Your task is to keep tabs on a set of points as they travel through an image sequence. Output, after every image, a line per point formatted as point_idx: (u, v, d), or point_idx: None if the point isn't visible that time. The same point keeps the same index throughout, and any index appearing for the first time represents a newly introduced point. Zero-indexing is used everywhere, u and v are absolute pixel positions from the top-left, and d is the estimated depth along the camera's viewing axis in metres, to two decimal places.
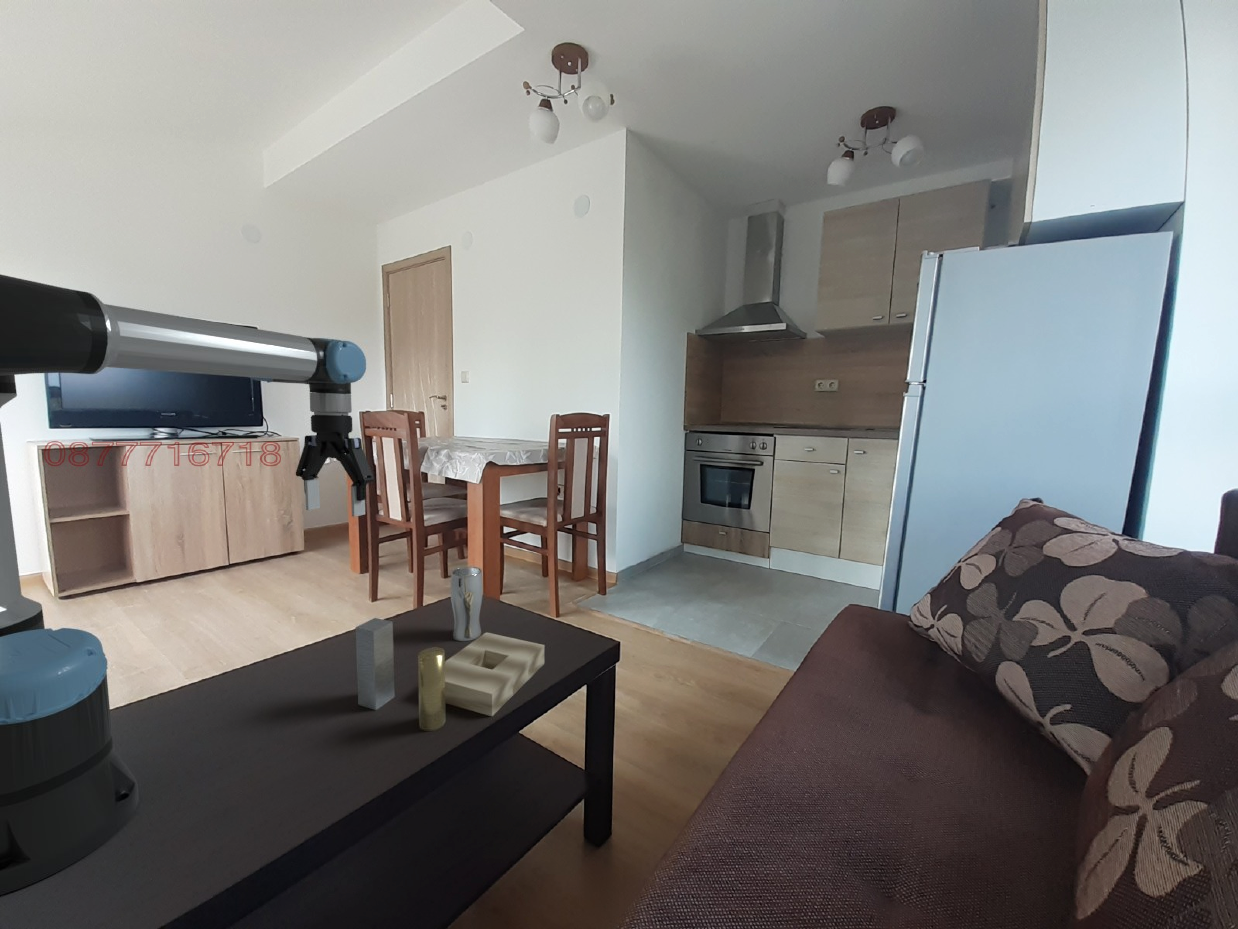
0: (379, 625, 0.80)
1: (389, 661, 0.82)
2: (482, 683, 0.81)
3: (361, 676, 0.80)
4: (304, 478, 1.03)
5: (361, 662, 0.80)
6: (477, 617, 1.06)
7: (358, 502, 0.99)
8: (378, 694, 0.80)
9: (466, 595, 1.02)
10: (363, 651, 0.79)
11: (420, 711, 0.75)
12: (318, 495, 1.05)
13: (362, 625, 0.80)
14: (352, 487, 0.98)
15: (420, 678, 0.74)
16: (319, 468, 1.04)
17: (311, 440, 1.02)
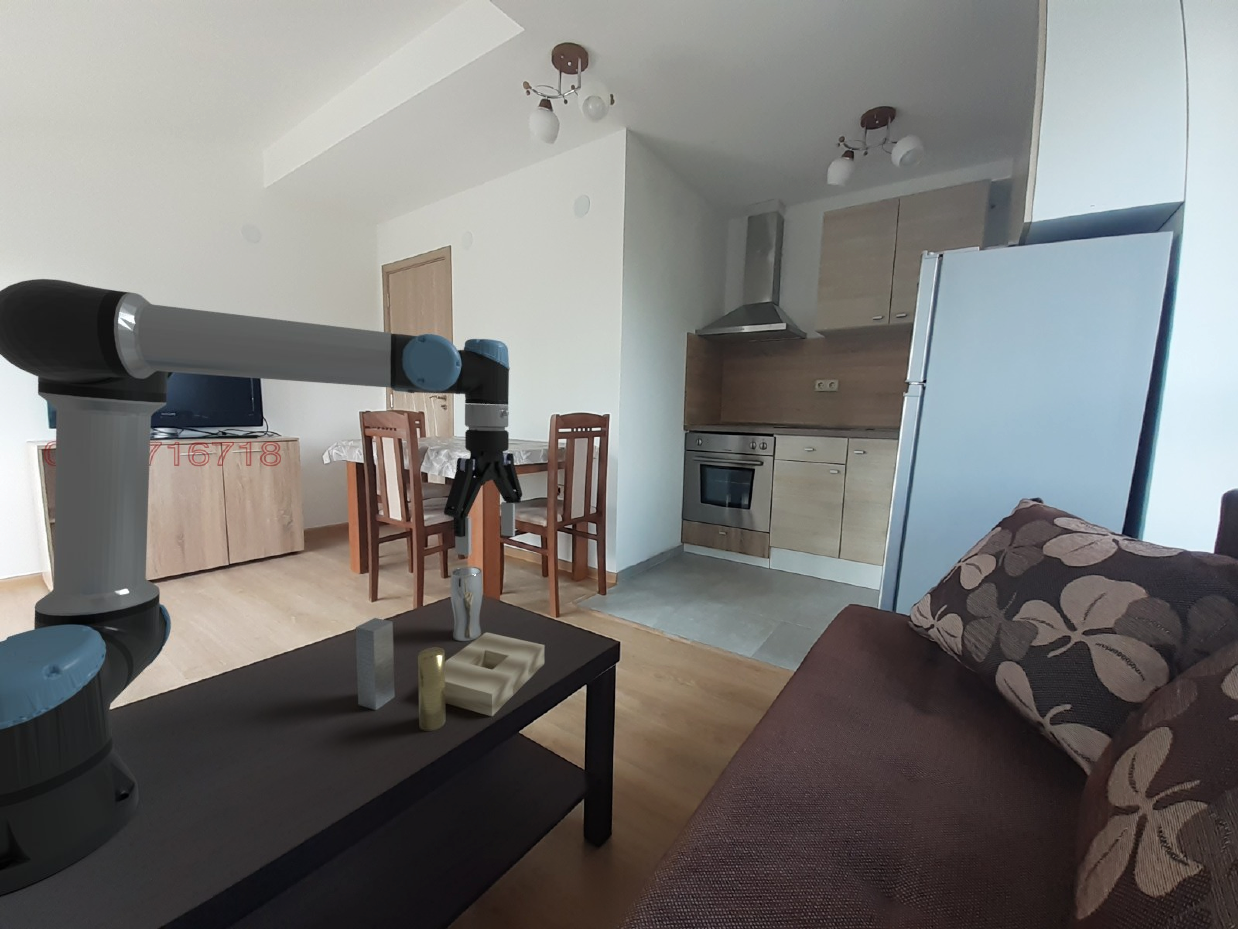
0: (379, 625, 0.80)
1: (389, 661, 0.82)
2: (482, 683, 0.81)
3: (361, 676, 0.80)
4: None
5: (361, 662, 0.80)
6: (477, 617, 1.06)
7: (460, 538, 0.80)
8: (378, 694, 0.80)
9: (466, 595, 1.02)
10: (363, 651, 0.79)
11: (420, 711, 0.75)
12: (511, 521, 0.92)
13: (363, 625, 0.80)
14: None
15: (420, 678, 0.74)
16: (507, 491, 0.90)
17: None
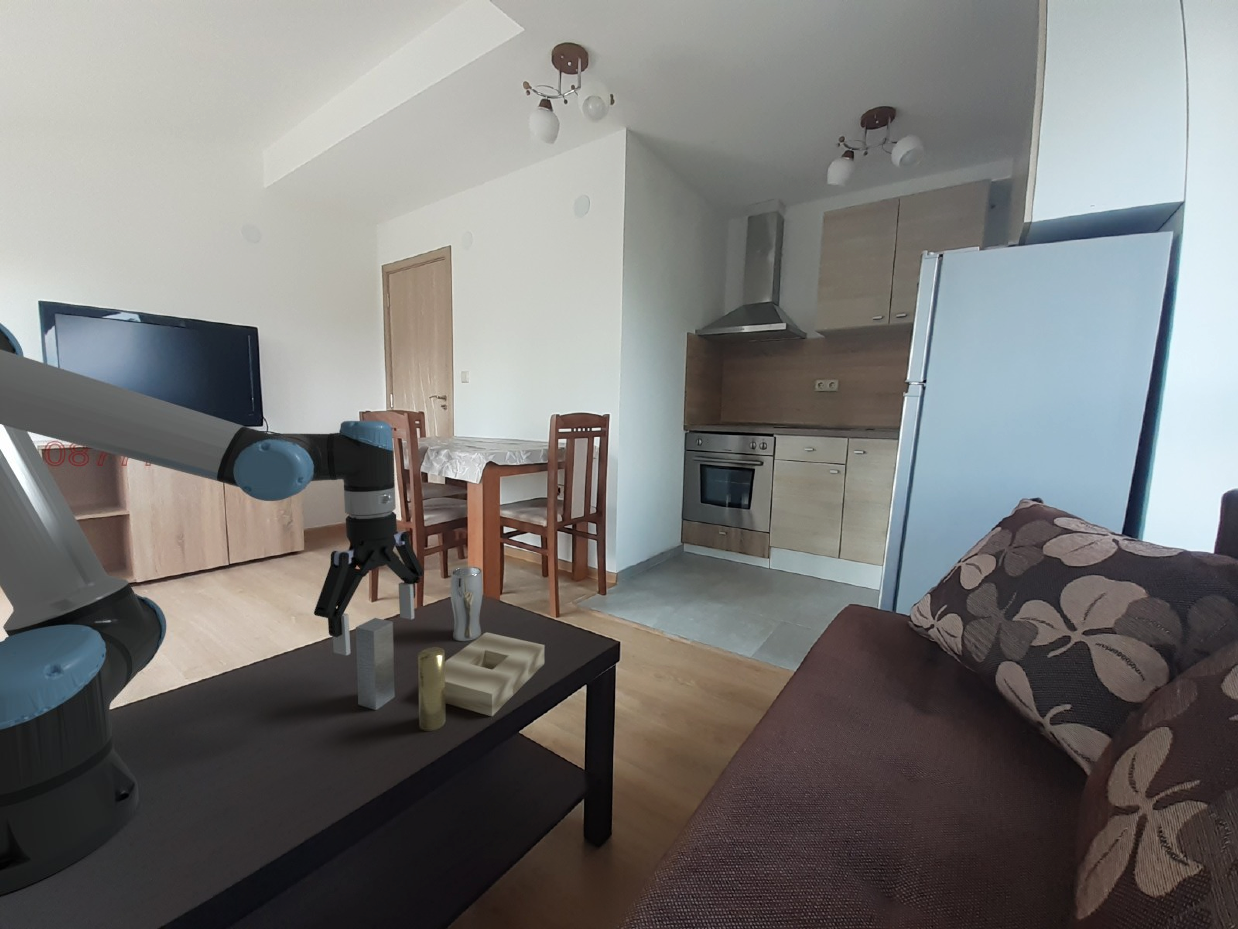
0: (379, 625, 0.80)
1: (389, 661, 0.82)
2: (482, 683, 0.81)
3: (361, 676, 0.80)
4: None
5: (361, 662, 0.80)
6: (477, 617, 1.06)
7: (337, 636, 0.74)
8: (378, 694, 0.80)
9: (466, 595, 1.02)
10: (363, 651, 0.79)
11: (420, 711, 0.75)
12: (409, 604, 0.86)
13: (363, 625, 0.80)
14: None
15: (420, 678, 0.74)
16: (402, 573, 0.85)
17: None
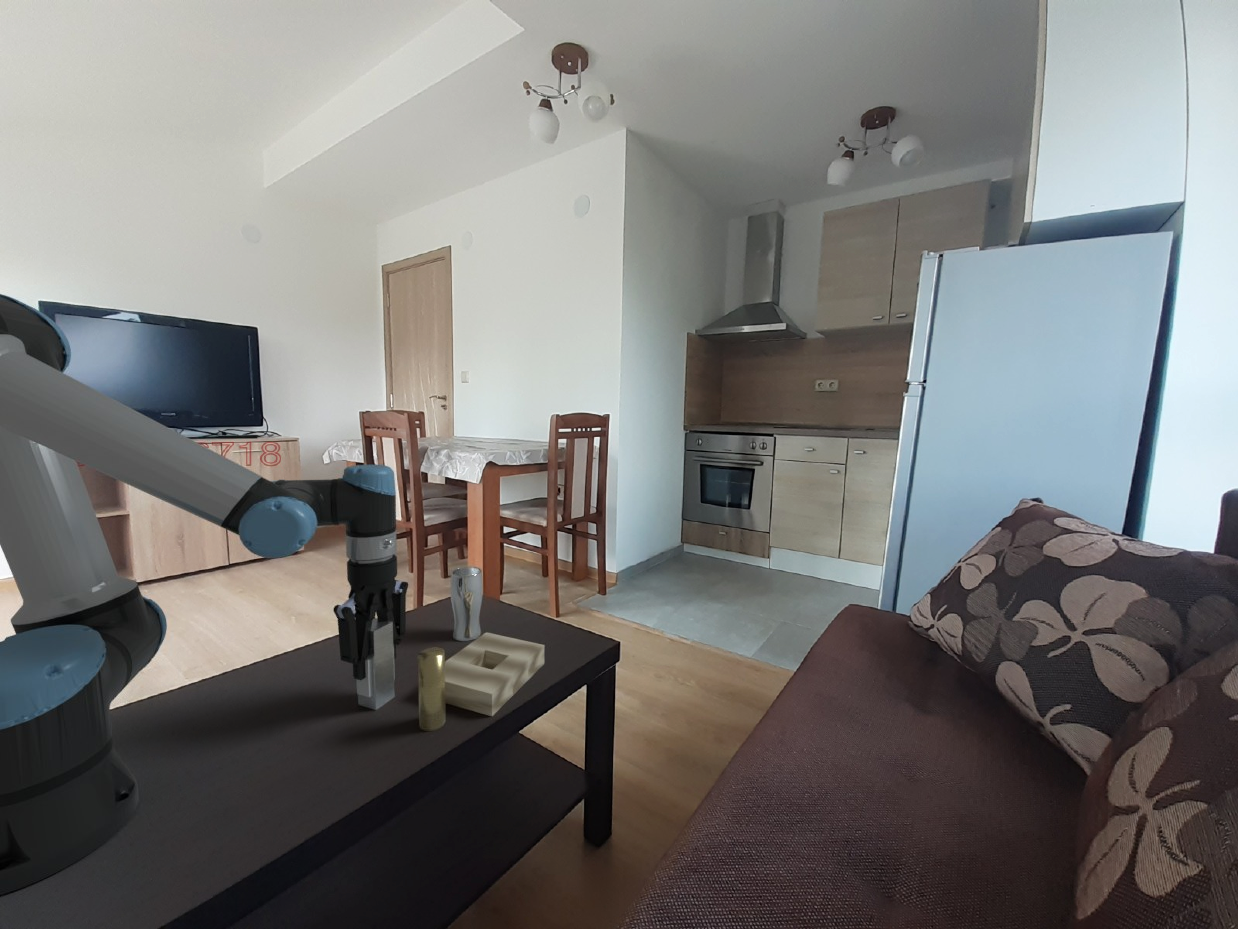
0: (379, 625, 0.80)
1: (389, 661, 0.82)
2: (482, 683, 0.81)
3: None
4: None
5: None
6: (477, 617, 1.06)
7: None
8: (378, 694, 0.80)
9: (466, 595, 1.02)
10: None
11: (420, 711, 0.75)
12: None
13: None
14: None
15: (420, 678, 0.74)
16: None
17: None
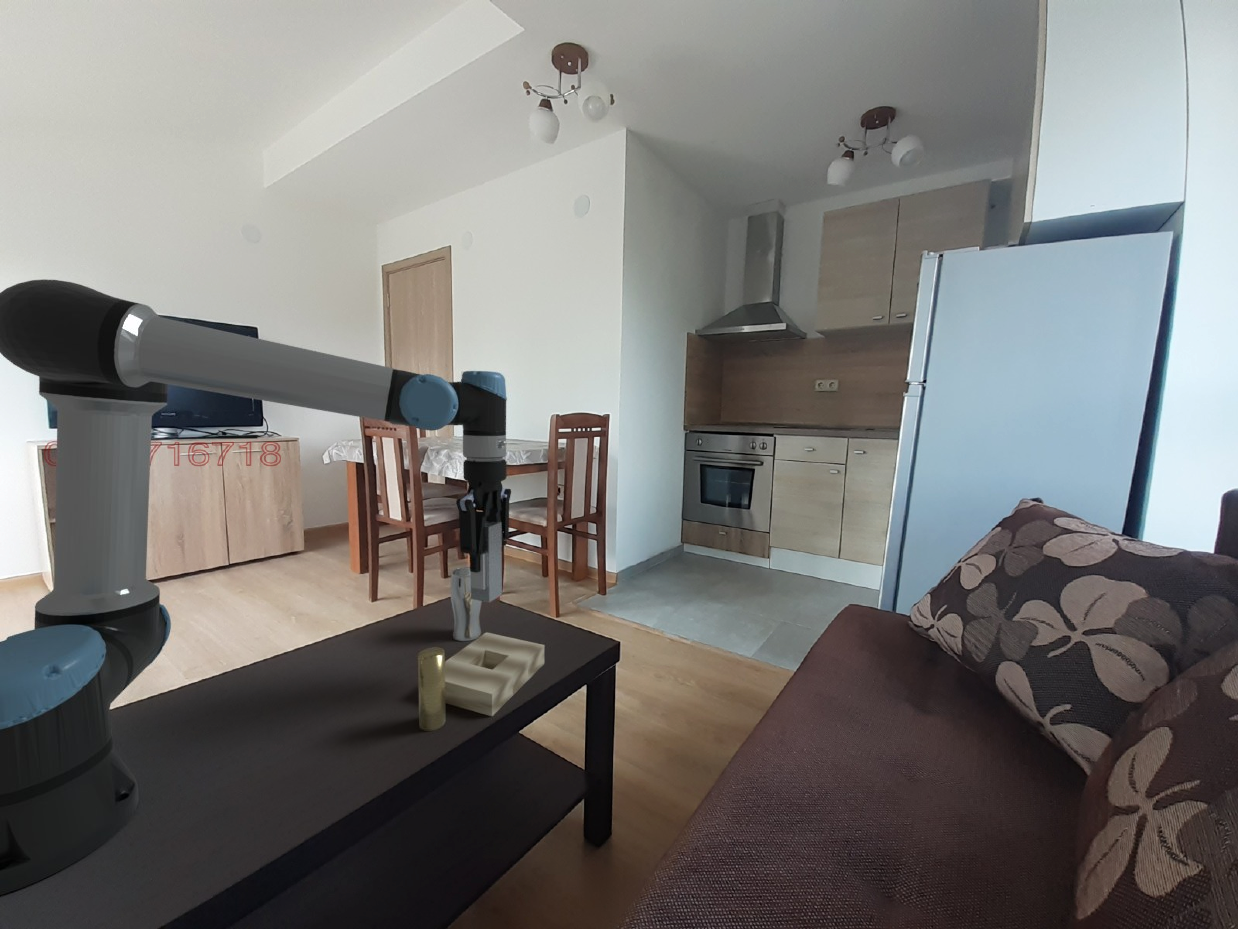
0: (491, 524, 0.86)
1: (498, 559, 0.87)
2: (482, 683, 0.81)
3: None
4: None
5: None
6: (477, 617, 1.06)
7: (475, 573, 0.85)
8: (491, 588, 0.86)
9: (466, 595, 1.02)
10: None
11: (420, 711, 0.75)
12: None
13: None
14: None
15: (420, 678, 0.74)
16: None
17: None
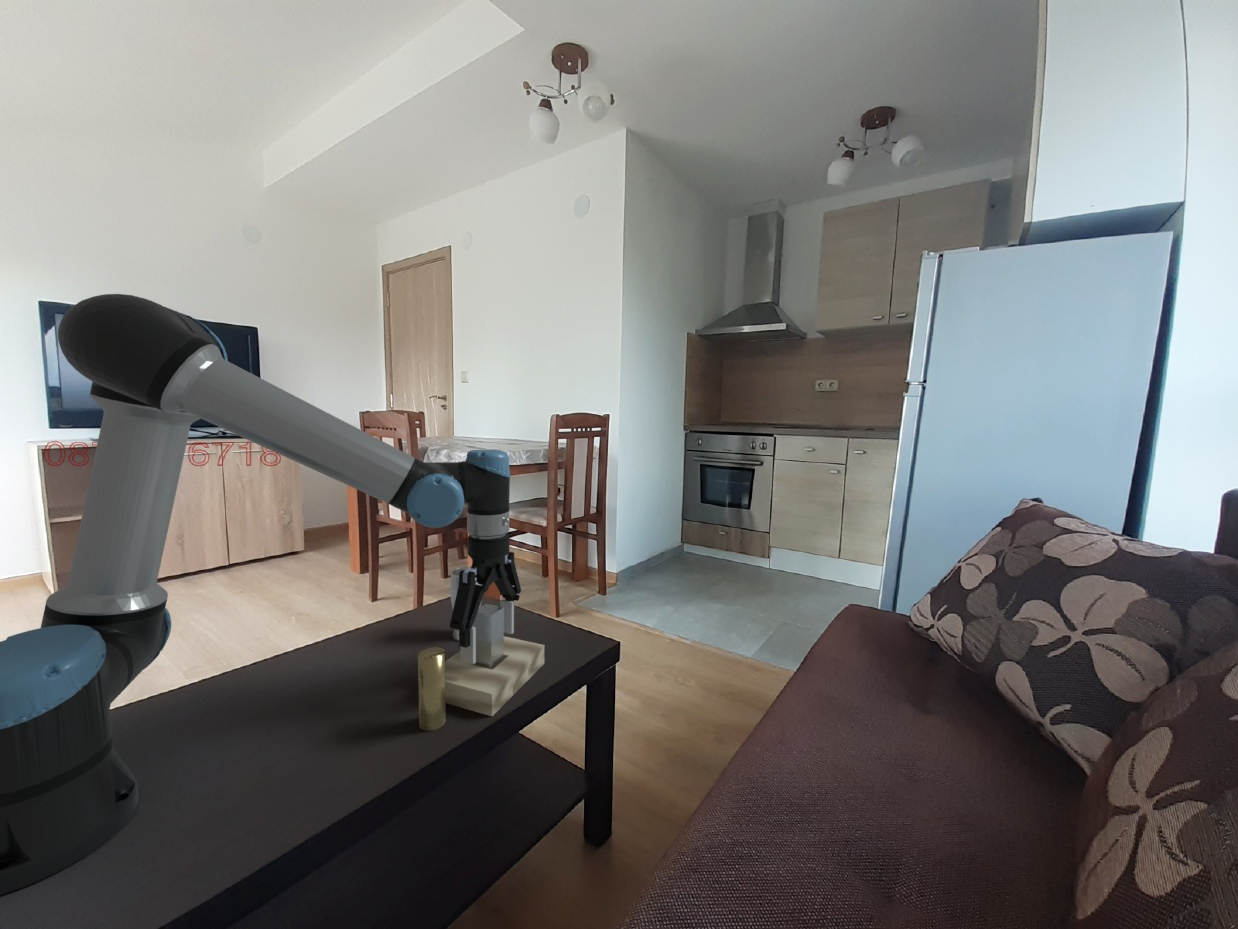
0: (493, 610, 0.88)
1: (501, 643, 0.89)
2: (482, 683, 0.81)
3: (477, 656, 0.88)
4: None
5: (477, 644, 0.87)
6: None
7: (465, 647, 0.83)
8: None
9: None
10: (480, 633, 0.87)
11: (420, 711, 0.75)
12: (510, 620, 0.94)
13: (478, 609, 0.88)
14: None
15: (420, 678, 0.74)
16: (506, 590, 0.92)
17: None
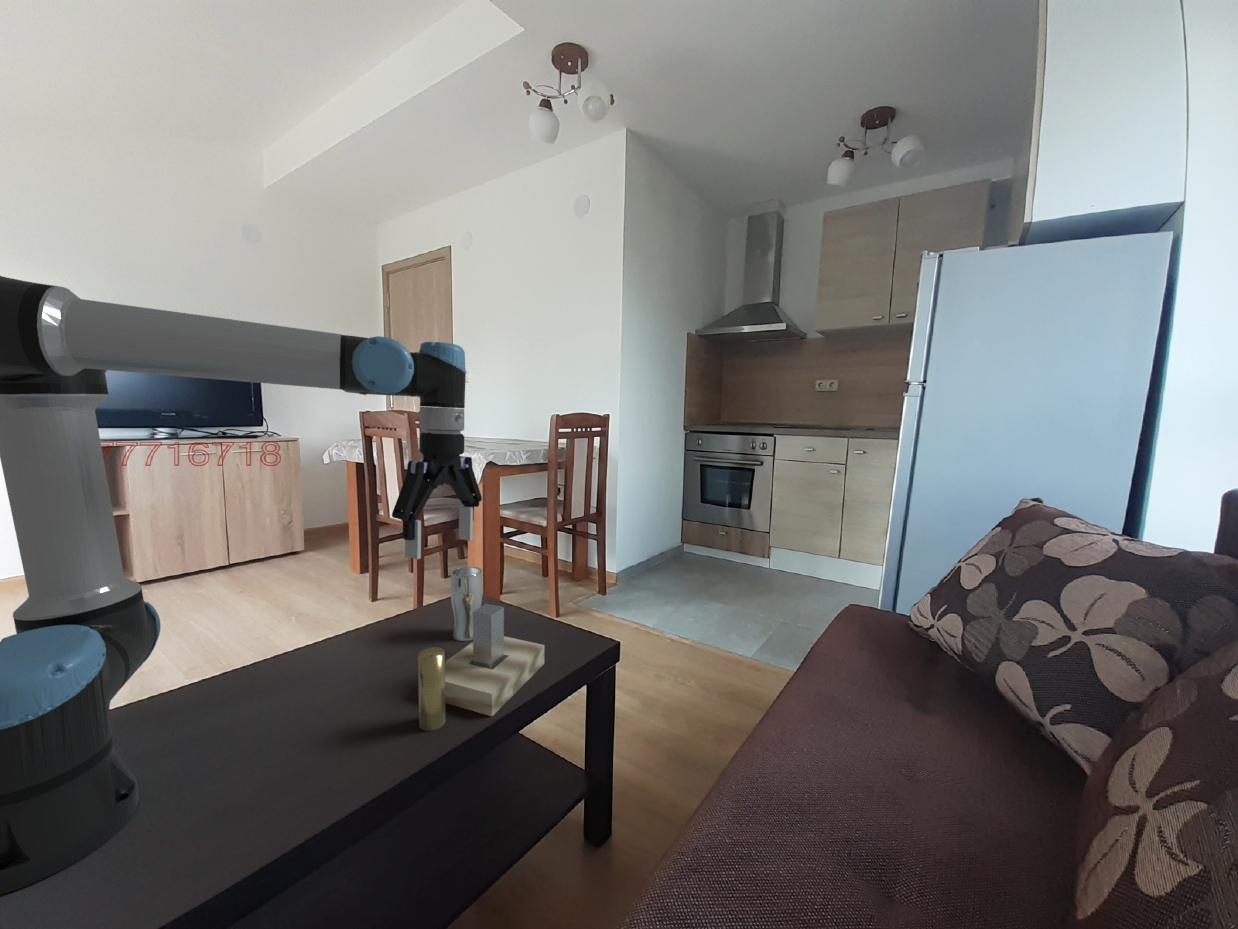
0: (493, 610, 0.88)
1: (501, 643, 0.89)
2: (482, 683, 0.81)
3: (477, 656, 0.88)
4: None
5: (477, 644, 0.87)
6: None
7: (410, 541, 0.79)
8: None
9: (466, 595, 1.02)
10: (480, 633, 0.87)
11: (420, 711, 0.75)
12: (469, 526, 0.91)
13: (478, 609, 0.88)
14: None
15: (420, 678, 0.74)
16: (464, 495, 0.90)
17: None
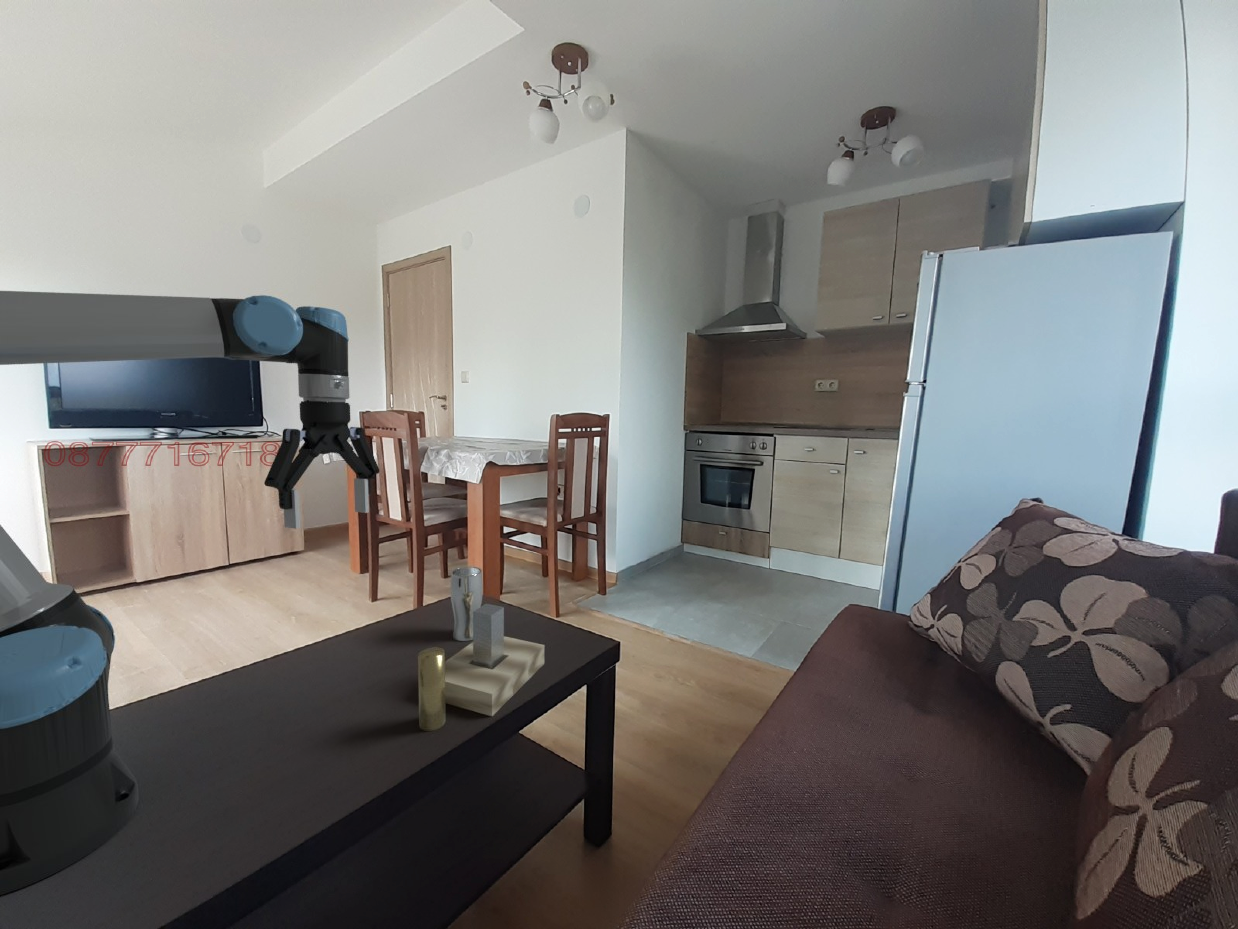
0: (493, 610, 0.88)
1: (501, 643, 0.89)
2: (482, 683, 0.81)
3: (477, 656, 0.88)
4: None
5: (477, 644, 0.87)
6: None
7: (288, 510, 0.78)
8: None
9: (466, 595, 1.02)
10: (480, 633, 0.87)
11: (420, 711, 0.75)
12: (364, 498, 0.90)
13: (478, 609, 0.88)
14: None
15: (420, 678, 0.74)
16: (356, 466, 0.88)
17: None
